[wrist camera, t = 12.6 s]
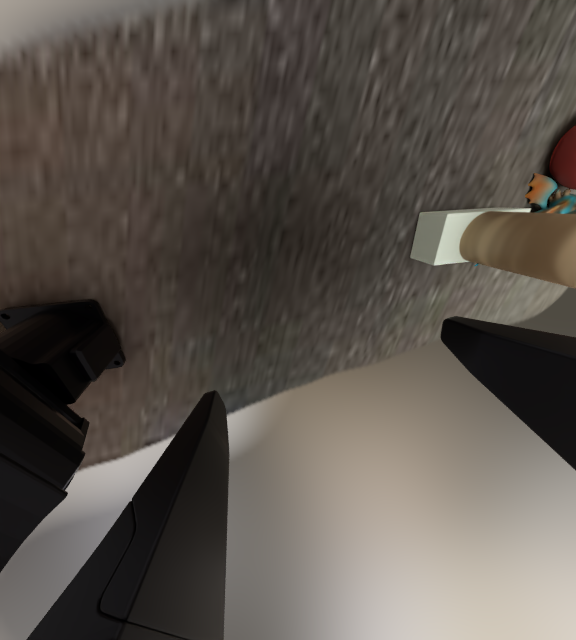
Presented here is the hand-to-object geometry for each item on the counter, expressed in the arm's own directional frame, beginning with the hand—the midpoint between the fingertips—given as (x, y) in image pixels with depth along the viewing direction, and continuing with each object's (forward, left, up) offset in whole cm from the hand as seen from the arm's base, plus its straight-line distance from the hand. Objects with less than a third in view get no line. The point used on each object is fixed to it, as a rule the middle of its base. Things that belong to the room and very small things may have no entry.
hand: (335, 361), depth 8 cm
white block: (+17, +2, -13) cm, 22 cm away
